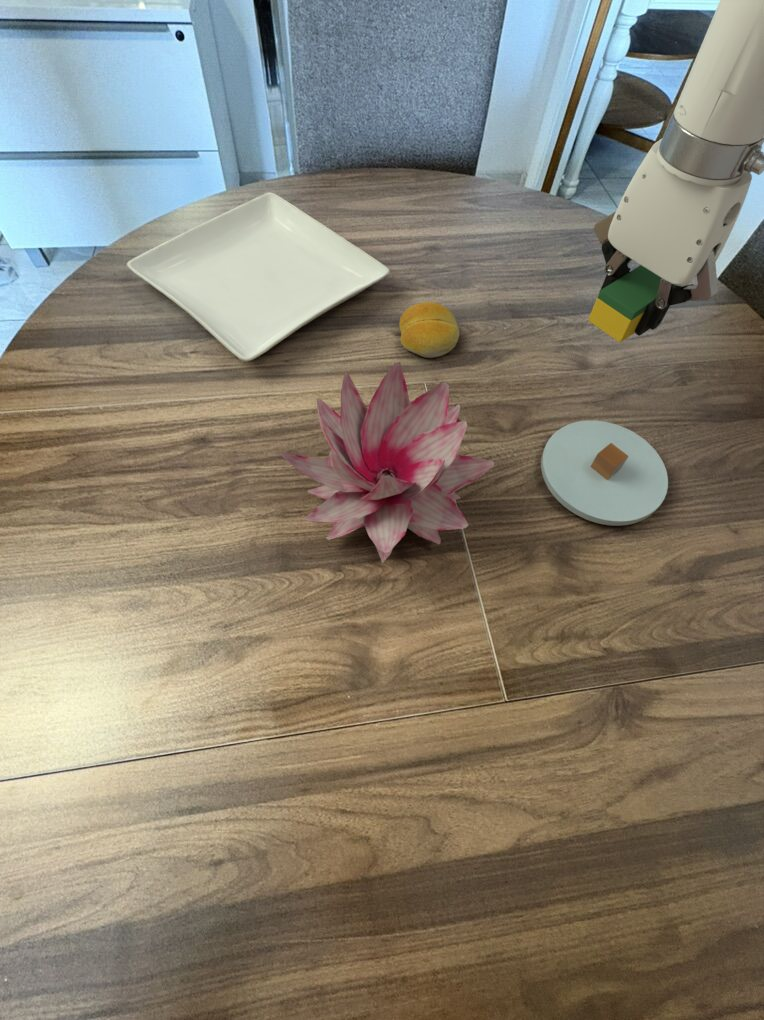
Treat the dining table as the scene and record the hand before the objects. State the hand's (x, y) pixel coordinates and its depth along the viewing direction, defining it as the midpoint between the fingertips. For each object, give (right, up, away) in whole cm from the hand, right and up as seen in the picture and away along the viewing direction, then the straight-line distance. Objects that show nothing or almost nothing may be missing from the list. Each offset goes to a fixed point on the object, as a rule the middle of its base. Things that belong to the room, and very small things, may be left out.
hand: (625, 315), depth 68 cm
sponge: (0, 0, 0) cm, 0 cm away
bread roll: (-21, +3, +19) cm, 28 cm away
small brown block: (0, -16, +6) cm, 18 cm away
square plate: (-45, +11, +23) cm, 52 cm away
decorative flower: (-27, -21, +4) cm, 34 cm away
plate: (0, -17, +7) cm, 19 cm away
